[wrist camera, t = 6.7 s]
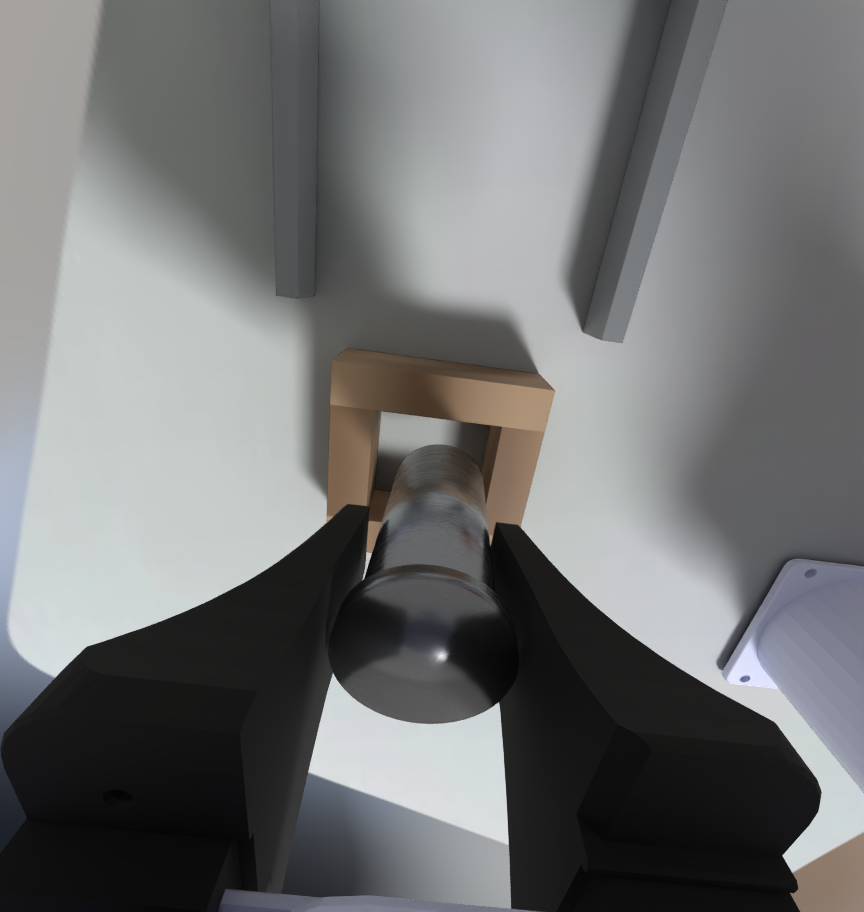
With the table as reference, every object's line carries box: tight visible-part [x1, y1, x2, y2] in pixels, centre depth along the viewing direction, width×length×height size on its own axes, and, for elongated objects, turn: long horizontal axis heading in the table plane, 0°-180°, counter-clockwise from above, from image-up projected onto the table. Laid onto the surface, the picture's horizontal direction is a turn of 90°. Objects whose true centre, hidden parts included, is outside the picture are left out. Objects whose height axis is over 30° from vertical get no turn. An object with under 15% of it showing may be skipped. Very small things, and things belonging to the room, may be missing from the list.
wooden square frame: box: [327, 348, 555, 553], centre depth 17 cm, size 8×8×2 cm
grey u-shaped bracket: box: [270, 0, 728, 343], centre depth 12 cm, size 11×11×2 cm
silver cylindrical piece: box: [328, 445, 519, 724], centre depth 11 cm, size 4×4×7 cm
